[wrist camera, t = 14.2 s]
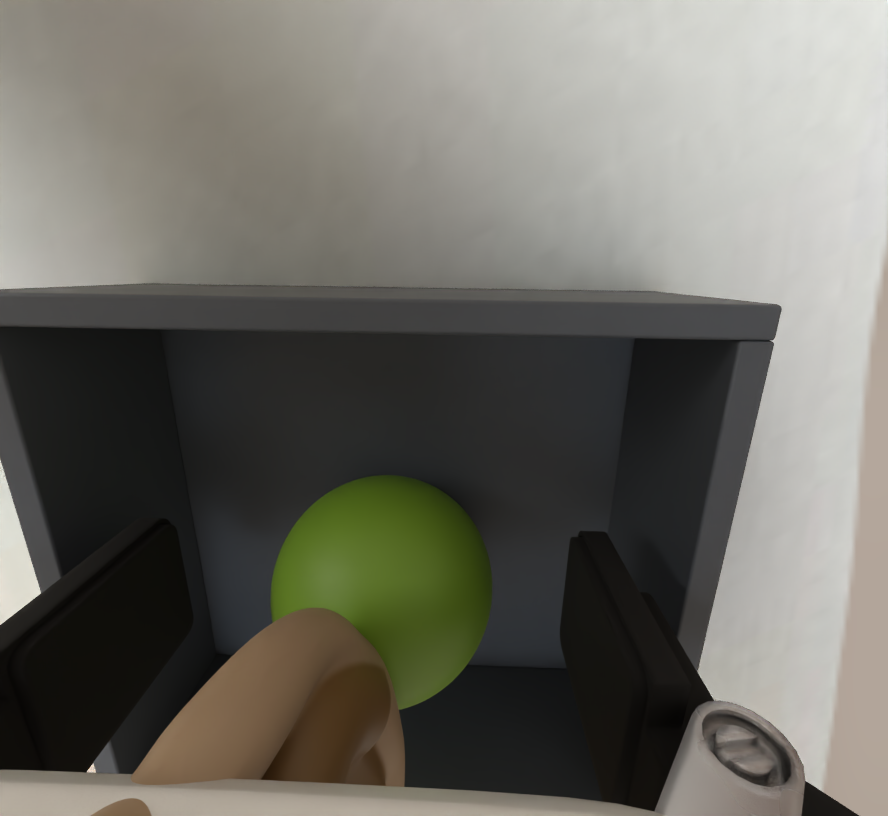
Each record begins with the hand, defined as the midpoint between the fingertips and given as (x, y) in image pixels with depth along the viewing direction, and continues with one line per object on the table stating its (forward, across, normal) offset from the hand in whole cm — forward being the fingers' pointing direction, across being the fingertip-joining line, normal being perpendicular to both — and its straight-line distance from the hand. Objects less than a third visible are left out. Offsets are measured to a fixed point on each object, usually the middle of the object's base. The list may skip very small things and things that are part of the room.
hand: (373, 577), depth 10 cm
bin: (+4, 0, 0) cm, 4 cm away
